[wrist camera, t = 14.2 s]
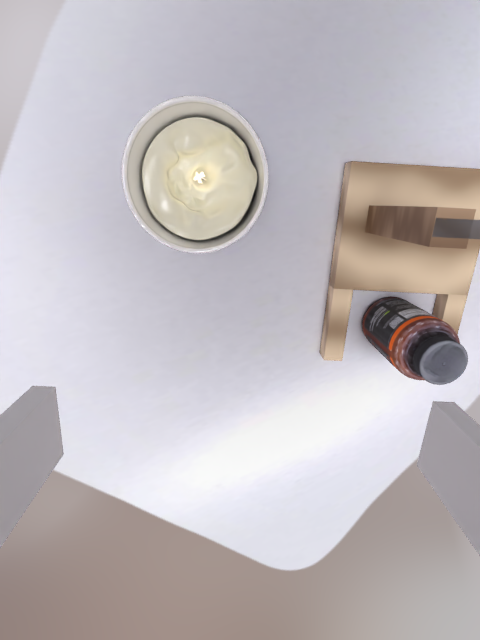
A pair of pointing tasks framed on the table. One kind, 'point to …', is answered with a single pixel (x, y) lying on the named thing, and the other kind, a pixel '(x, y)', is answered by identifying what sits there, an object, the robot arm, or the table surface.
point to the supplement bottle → (415, 341)
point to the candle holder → (195, 174)
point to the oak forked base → (397, 243)
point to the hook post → (424, 225)
